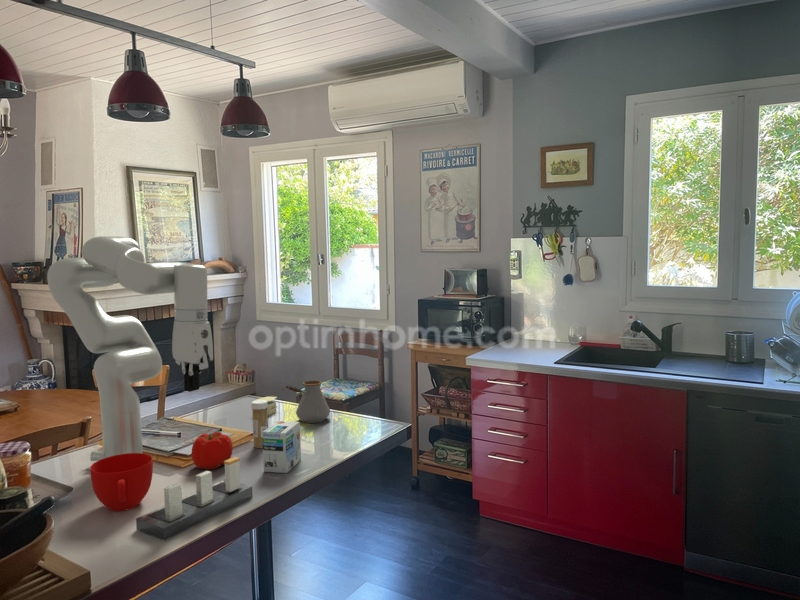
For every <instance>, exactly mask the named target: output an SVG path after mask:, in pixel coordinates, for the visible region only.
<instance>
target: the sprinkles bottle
mask: <svg viewBox="0 0 800 600" xmlns="http://www.w3.org/2000/svg"><path fill="white" fill-rule="evenodd" d="M267 407H268V403H267V401H266V400H256V399H255V400H253V401H252V402H251V410H252V412H251V413H252V436H253V447H254V448H256V449H263V439H262V432H263V431H265V430H266V429H267V428H269V419H268V418H269V417H268V416H267Z"/></svg>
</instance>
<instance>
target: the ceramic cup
mask: <svg viewBox="0 0 800 600" xmlns="http://www.w3.org/2000/svg"><path fill="white" fill-rule="evenodd" d="M153 468H154V459H153V457H152V455H150V454H147V453H144V452H143V453H127V454H120V455H115V456H110V457H107V458H104V459H101V460H99V461H94V462H93V463H92V464H91V465H90V467H89V473H90V474H89V475H90V480H91V484H92V490H93V492H94V495H95V497H96V498H97V499H98V501H99V502H100V503H101V504H102V505H103V506H105V507H106V508H107V509H108V510H109V511H111V512H123V511H124V512H125V511H128V510H131V509H134V508H136V507H138V506H139V505H140V504H141V502H142V501H143V499H144V498H145V497H146V495H148V492H149V490H150V488H151V485H152V484H151V483H152V480H153V473H154V469H153Z"/></svg>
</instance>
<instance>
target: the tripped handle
mask: <svg viewBox="0 0 800 600" xmlns="http://www.w3.org/2000/svg"><path fill="white" fill-rule="evenodd" d="M240 461H241V458H240V457H237V456H233V457H230V459H228V460H225V461H224V478H225V479H224V480H225V482H226V491H229V492H232V491H234V490H236V489H238V488H240V483H241V471H240V467H241V466H240Z"/></svg>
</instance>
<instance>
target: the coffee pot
mask: <svg viewBox="0 0 800 600" xmlns="http://www.w3.org/2000/svg"><path fill="white" fill-rule="evenodd" d="M322 383H323V381H321V380H305V381H303V382H302V385H303V388H304V390H302V389H299V388H298V387H293V386H292V385H287V386H284V387H283V389H282V390H283V392H284V393H286V391H285V388H286V389H288V390H287V393H289V391H292V392H296V393H300V394H302V395H301V398H300V401H299V402H298V406H297V408H296V410H295V415H296V417H297V418H298V419H299V420H301V421H302V423H306V424H317V423H322V422H324V421H325V419H327V418H328V417H329V415H330V414H331V413H330V412H331V409H330V407H329V404H328V403H327V400H326V398H325V396H324V393H323V392H322V390H321V385H322Z"/></svg>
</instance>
